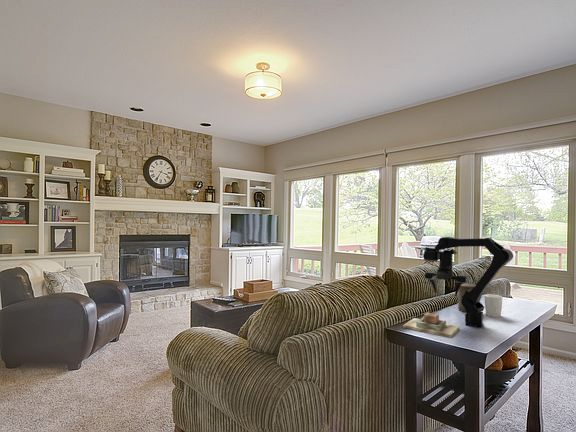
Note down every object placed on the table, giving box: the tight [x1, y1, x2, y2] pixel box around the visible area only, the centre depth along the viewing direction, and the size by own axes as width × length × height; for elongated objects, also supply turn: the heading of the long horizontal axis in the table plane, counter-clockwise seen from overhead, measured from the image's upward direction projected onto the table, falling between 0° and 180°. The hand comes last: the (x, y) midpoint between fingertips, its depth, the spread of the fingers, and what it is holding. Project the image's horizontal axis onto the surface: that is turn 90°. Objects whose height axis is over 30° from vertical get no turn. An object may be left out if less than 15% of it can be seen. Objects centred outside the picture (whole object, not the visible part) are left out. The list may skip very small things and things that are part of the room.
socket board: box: [402, 316, 460, 338], centre depth 158 cm, size 20×14×3 cm
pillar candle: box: [457, 282, 476, 313], centre depth 188 cm, size 10×10×15 cm
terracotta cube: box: [423, 311, 440, 325], centre depth 158 cm, size 5×5×5 cm
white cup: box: [484, 293, 503, 318], centre depth 179 cm, size 8×8×10 cm
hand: (445, 294), depth 172 cm, fingers open, 9 cm apart
